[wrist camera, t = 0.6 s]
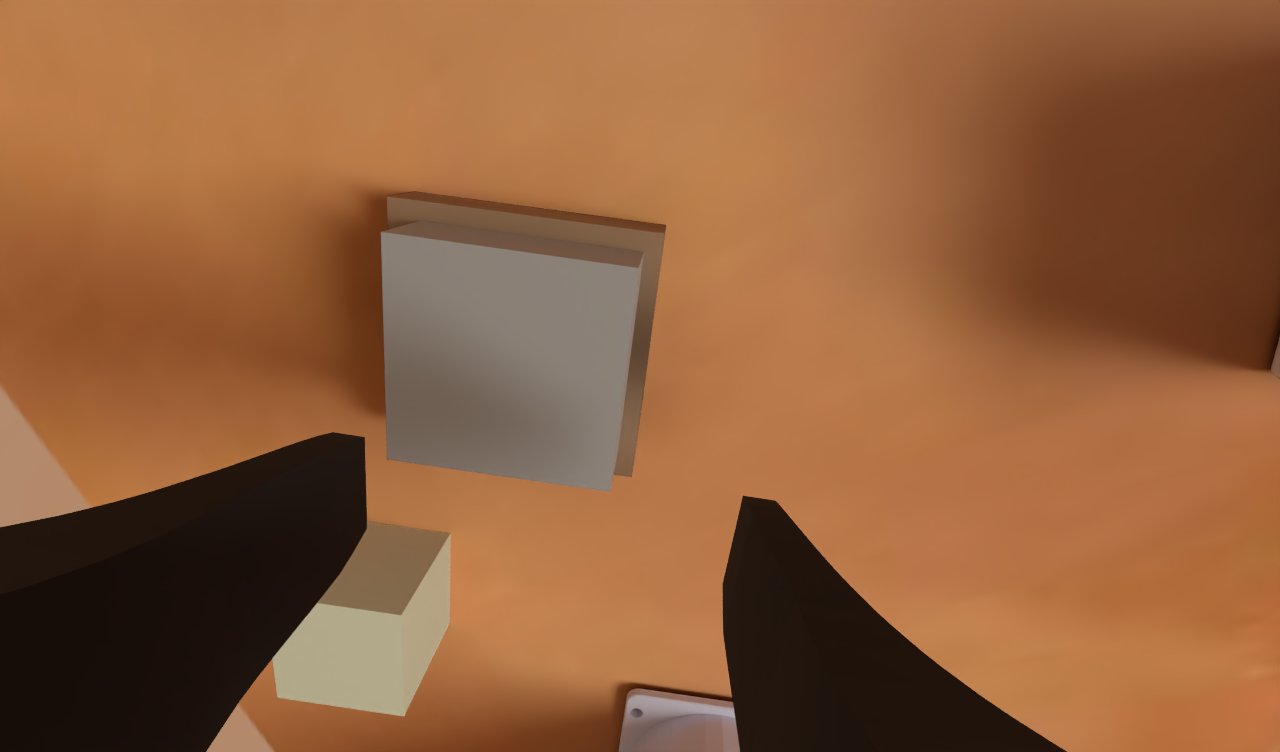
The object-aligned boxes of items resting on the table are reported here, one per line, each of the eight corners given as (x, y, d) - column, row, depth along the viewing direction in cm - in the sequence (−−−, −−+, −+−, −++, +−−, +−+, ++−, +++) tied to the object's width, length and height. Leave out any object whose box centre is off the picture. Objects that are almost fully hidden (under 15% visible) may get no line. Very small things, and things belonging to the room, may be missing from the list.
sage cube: (450, 621, 25) (403, 716, 21) (344, 606, 25) (277, 697, 21) (451, 532, 24) (401, 615, 19) (338, 516, 24) (264, 595, 19)
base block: (637, 441, 22) (631, 476, 20) (424, 412, 22) (394, 443, 20) (666, 222, 19) (664, 233, 17) (422, 189, 20) (386, 196, 17)
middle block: (618, 450, 20) (609, 491, 17) (421, 422, 20) (387, 459, 17) (644, 251, 17) (638, 268, 15) (420, 220, 17) (380, 231, 15)
